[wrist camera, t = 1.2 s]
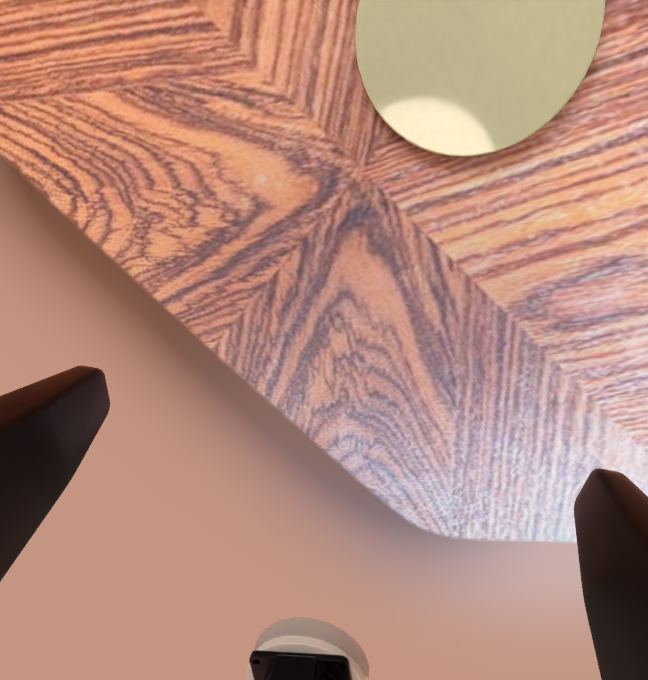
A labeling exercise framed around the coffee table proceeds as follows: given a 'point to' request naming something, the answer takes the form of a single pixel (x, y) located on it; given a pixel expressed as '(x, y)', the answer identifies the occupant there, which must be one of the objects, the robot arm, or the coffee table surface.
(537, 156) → the coffee table surface
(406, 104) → the coaster
